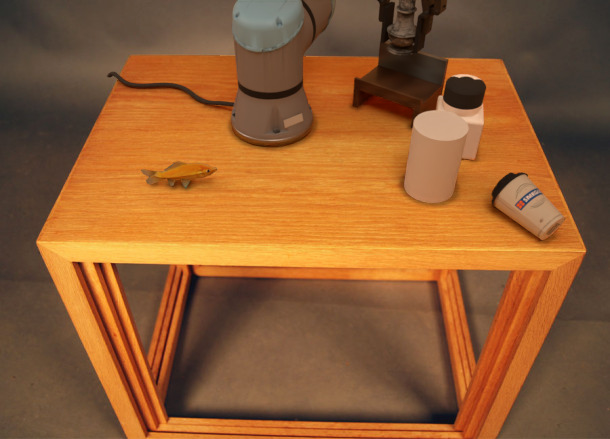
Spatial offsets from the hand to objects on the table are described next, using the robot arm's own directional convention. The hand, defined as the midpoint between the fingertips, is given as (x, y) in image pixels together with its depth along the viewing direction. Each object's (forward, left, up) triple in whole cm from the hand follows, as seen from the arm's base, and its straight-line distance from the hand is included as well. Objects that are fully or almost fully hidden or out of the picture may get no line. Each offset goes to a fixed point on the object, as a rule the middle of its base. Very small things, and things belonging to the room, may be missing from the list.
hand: (401, 44), depth 101 cm
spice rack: (0, +1, -13) cm, 13 cm away
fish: (-17, -41, -13) cm, 46 cm away
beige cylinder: (+16, -18, -13) cm, 28 cm away
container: (+15, -5, -13) cm, 20 cm away
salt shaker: (0, 0, -1) cm, 1 cm away
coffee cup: (+36, -19, -11) cm, 42 cm away
